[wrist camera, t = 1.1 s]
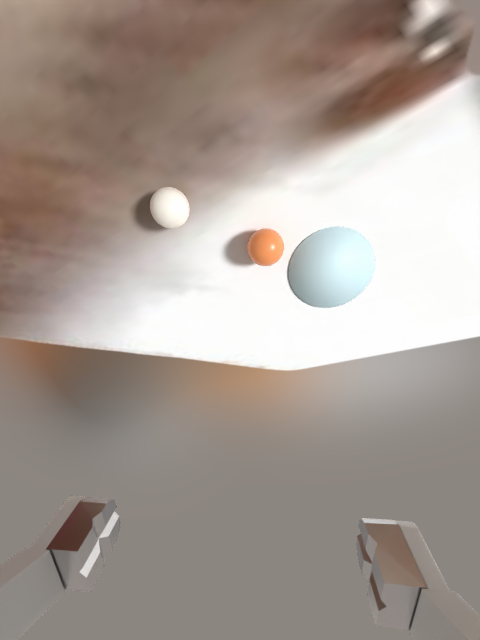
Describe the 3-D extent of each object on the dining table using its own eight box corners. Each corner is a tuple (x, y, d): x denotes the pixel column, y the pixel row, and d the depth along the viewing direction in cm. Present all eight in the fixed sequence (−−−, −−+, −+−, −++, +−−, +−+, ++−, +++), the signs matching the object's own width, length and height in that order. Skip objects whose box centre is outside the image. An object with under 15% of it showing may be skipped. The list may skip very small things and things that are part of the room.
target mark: (314, 212, 40) (314, 212, 40) (393, 247, 42) (393, 247, 42) (274, 290, 47) (274, 291, 47) (343, 317, 49) (344, 318, 49)
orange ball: (255, 219, 41) (255, 226, 36) (288, 233, 42) (292, 242, 37) (242, 252, 44) (241, 263, 39) (273, 264, 44) (275, 276, 40)
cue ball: (161, 179, 39) (148, 181, 34) (197, 194, 39) (189, 198, 35) (153, 216, 41) (140, 223, 37) (187, 229, 42) (178, 238, 37)
